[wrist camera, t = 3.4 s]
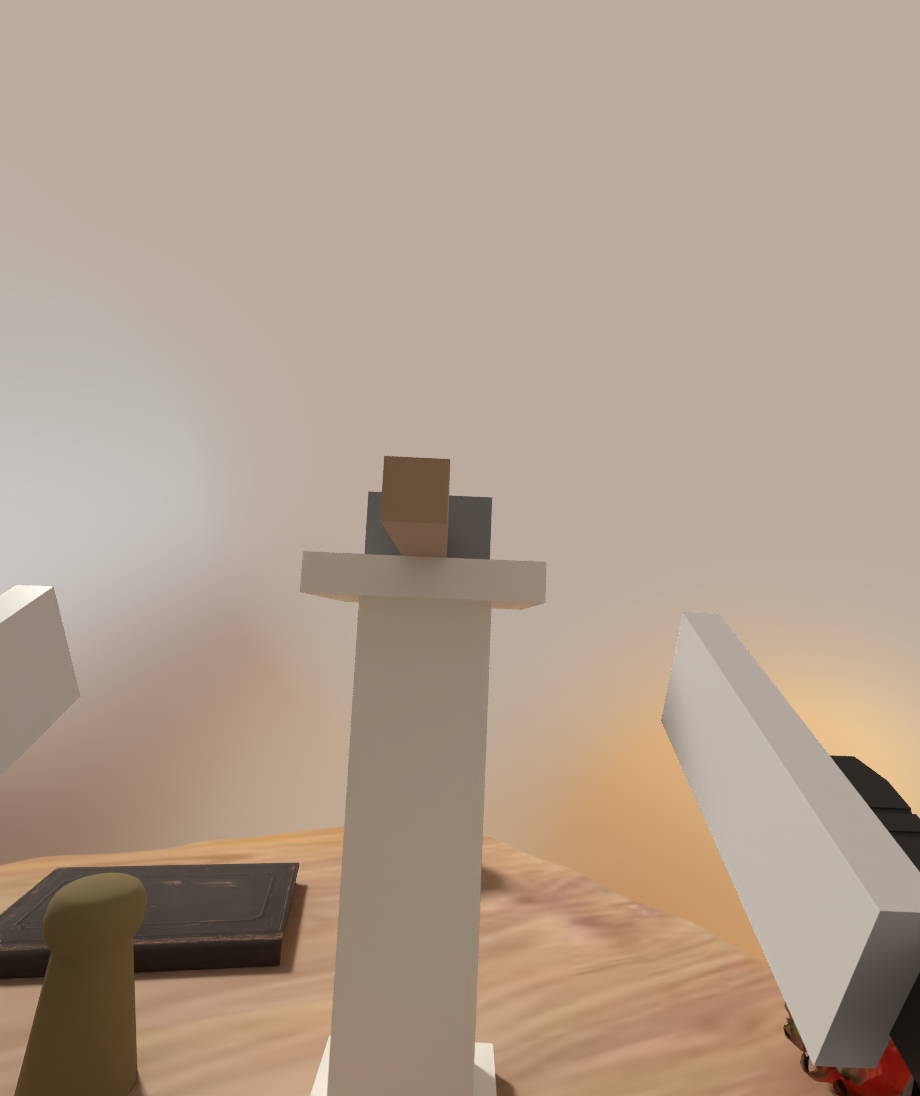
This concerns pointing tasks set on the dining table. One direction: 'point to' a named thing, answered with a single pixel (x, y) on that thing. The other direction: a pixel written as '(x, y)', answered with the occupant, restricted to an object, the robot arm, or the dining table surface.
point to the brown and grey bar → (425, 513)
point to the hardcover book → (171, 917)
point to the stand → (414, 820)
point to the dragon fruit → (857, 1071)
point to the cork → (87, 992)
